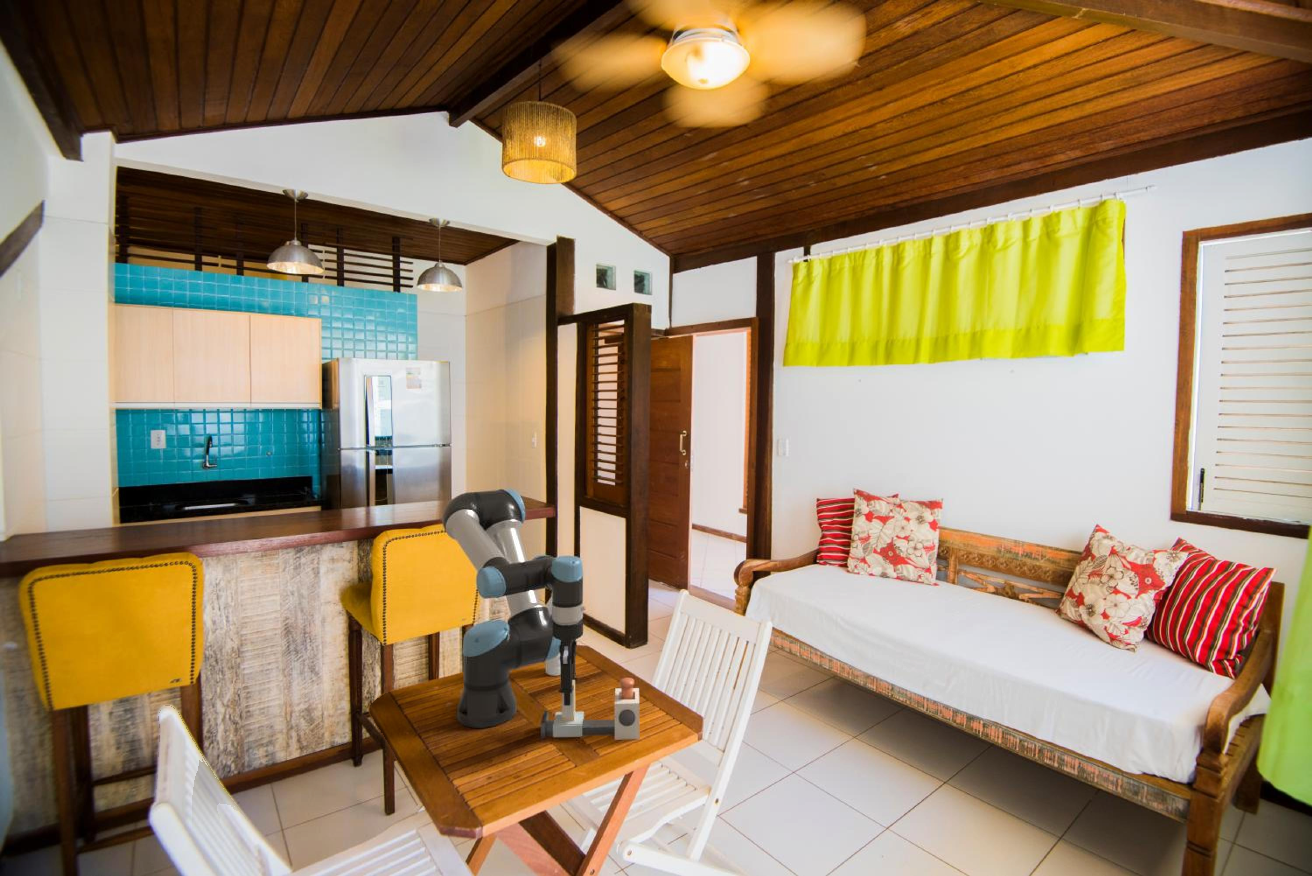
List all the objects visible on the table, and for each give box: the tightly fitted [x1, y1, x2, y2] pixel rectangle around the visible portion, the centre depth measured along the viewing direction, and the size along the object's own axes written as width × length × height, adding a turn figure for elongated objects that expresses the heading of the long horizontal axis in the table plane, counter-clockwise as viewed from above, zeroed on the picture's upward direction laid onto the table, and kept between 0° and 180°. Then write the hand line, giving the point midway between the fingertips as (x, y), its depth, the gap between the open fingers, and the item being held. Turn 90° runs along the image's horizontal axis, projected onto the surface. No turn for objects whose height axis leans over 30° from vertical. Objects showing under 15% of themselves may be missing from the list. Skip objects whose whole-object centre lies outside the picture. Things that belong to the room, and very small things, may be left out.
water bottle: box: [545, 593, 561, 677], centre depth 187 cm, size 9×6×25 cm
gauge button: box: [619, 677, 635, 700], centre depth 154 cm, size 4×4×6 cm
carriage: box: [552, 680, 585, 738], centre depth 153 cm, size 7×7×12 cm
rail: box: [540, 710, 615, 740], centre depth 154 cm, size 19×6×4 cm, turn 92°
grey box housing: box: [614, 687, 640, 741], centre depth 154 cm, size 6×8×9 cm
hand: (568, 712), depth 154 cm, fingers closed on carriage, 3 cm apart
